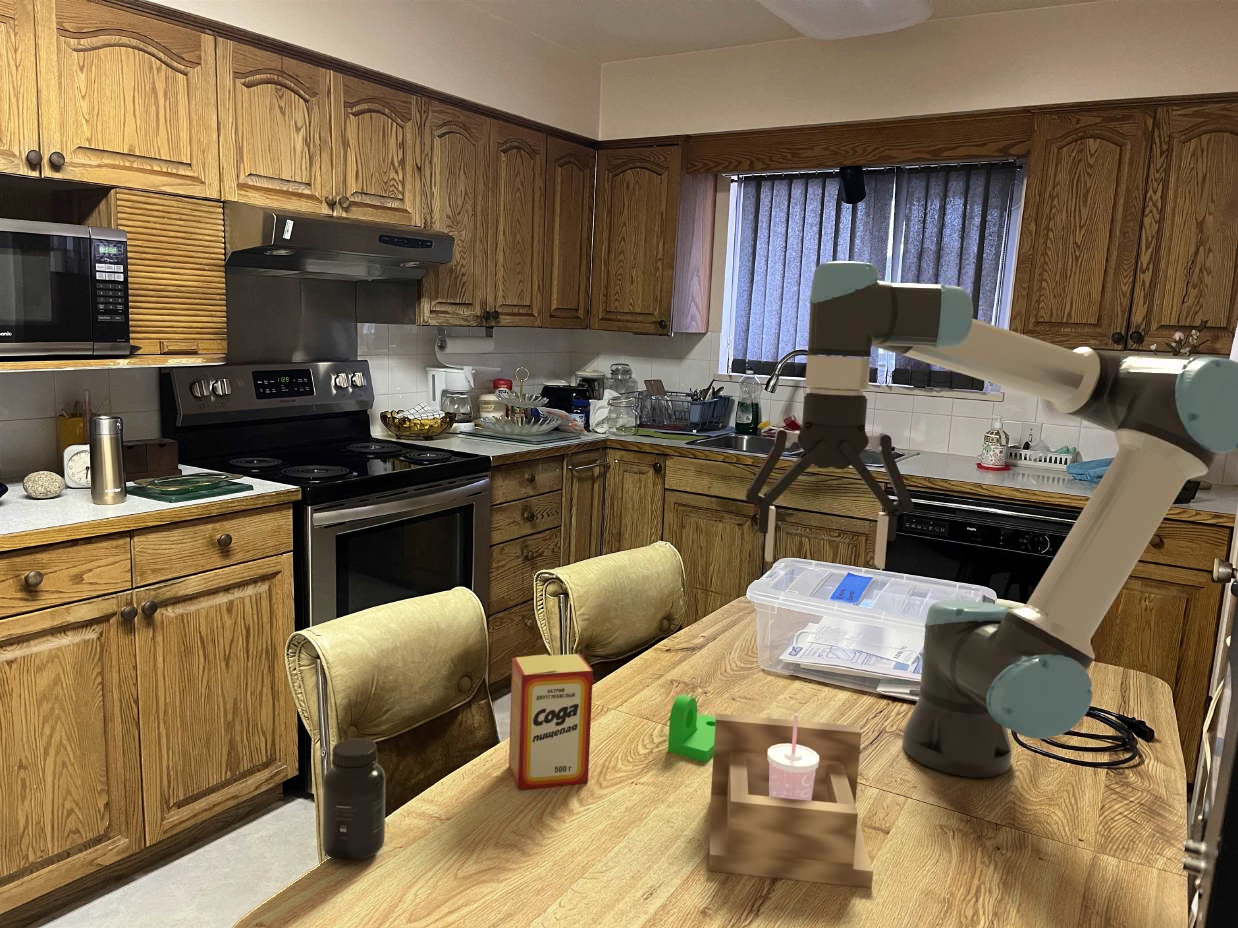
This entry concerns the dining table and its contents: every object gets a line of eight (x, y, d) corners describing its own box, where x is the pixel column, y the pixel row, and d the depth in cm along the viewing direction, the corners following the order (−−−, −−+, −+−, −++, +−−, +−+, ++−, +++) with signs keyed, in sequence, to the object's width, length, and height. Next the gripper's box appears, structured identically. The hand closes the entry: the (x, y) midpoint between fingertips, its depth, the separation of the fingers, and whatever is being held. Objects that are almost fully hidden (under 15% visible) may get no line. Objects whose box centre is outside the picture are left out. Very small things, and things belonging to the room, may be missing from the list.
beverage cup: (779, 842, 106) (788, 727, 105) (752, 816, 112) (760, 706, 110) (824, 834, 109) (833, 721, 107) (795, 809, 114) (803, 701, 113)
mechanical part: (706, 764, 130) (709, 710, 129) (667, 754, 133) (670, 701, 132) (735, 734, 141) (738, 684, 140) (699, 725, 144) (702, 676, 143)
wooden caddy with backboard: (851, 815, 118) (859, 725, 116) (871, 887, 102) (880, 785, 100) (710, 801, 119) (716, 713, 118) (708, 870, 104) (715, 769, 102)
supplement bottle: (309, 855, 103) (310, 754, 101) (344, 825, 109) (345, 730, 108) (363, 868, 101) (364, 764, 99) (395, 837, 107) (397, 739, 106)
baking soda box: (575, 760, 129) (580, 651, 127) (588, 782, 123) (593, 667, 121) (508, 767, 126) (512, 655, 124) (518, 789, 120) (522, 672, 118)
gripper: (933, 395, 114) (919, 561, 117) (732, 386, 117) (722, 549, 119) (949, 398, 107) (933, 576, 110) (733, 388, 109) (723, 563, 112)
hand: (823, 562), depth 115 cm, fingers open, 13 cm apart
